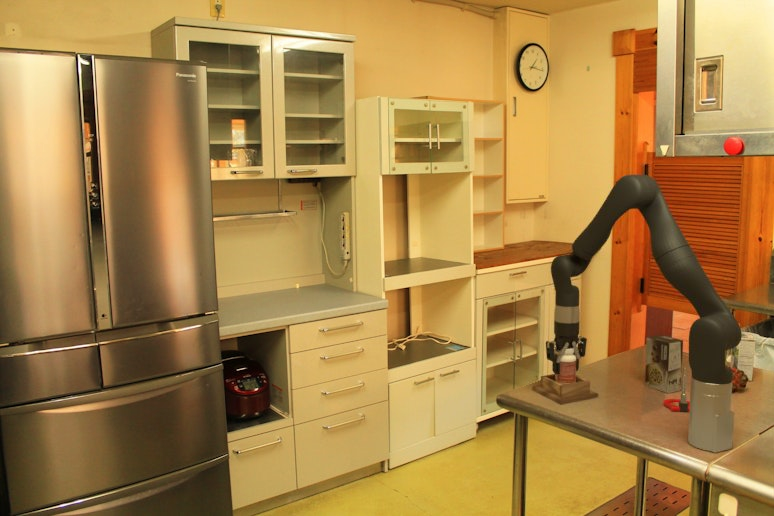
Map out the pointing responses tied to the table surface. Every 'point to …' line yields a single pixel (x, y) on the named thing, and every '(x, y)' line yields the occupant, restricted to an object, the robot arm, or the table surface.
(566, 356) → the pill bottle
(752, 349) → the syrup box
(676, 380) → the coffee box
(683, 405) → the tow hook
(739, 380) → the dragon fruit
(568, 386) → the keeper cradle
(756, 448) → the table surface
